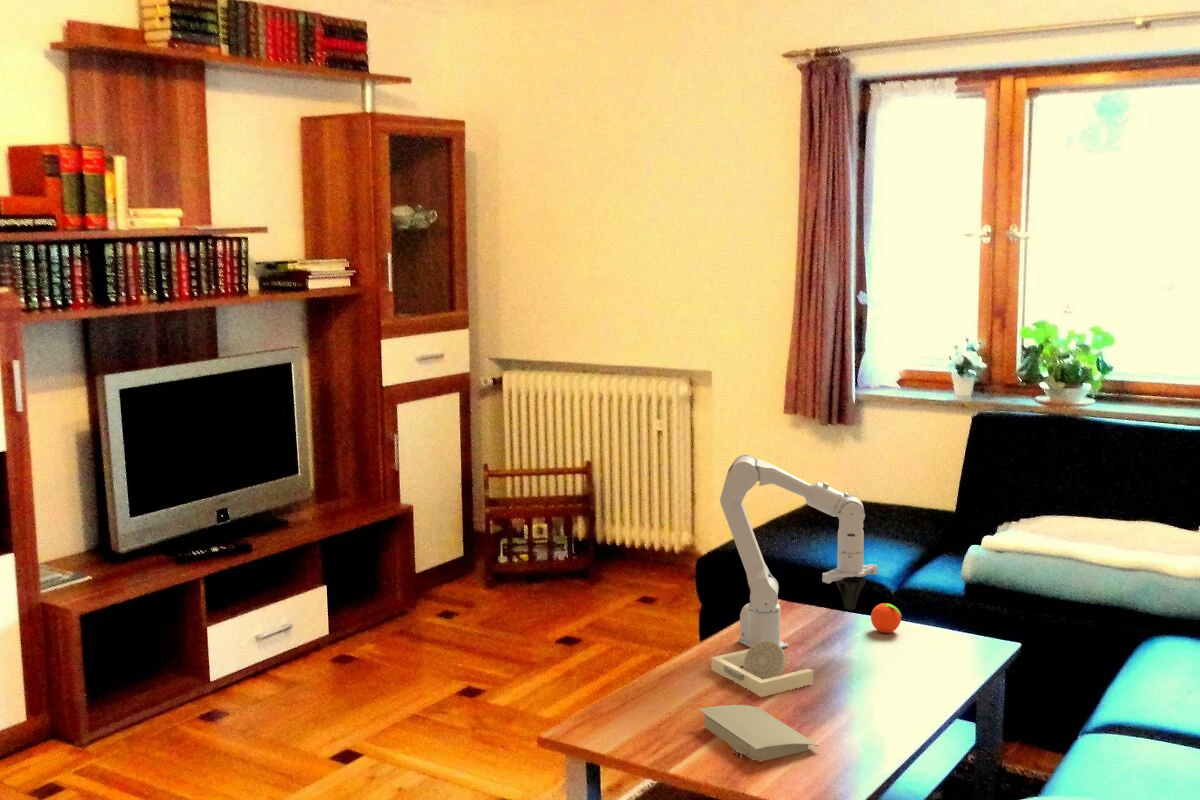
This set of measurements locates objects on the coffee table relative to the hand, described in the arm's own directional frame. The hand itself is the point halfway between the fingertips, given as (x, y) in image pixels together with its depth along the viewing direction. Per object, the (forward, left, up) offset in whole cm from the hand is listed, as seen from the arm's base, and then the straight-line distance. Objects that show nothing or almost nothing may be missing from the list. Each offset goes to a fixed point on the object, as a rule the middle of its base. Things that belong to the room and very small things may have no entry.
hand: (849, 608), depth 278 cm
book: (+29, -48, -10) cm, 57 cm away
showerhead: (+5, -24, -9) cm, 26 cm away
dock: (+4, -28, -9) cm, 29 cm away
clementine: (-4, +15, -10) cm, 18 cm away
